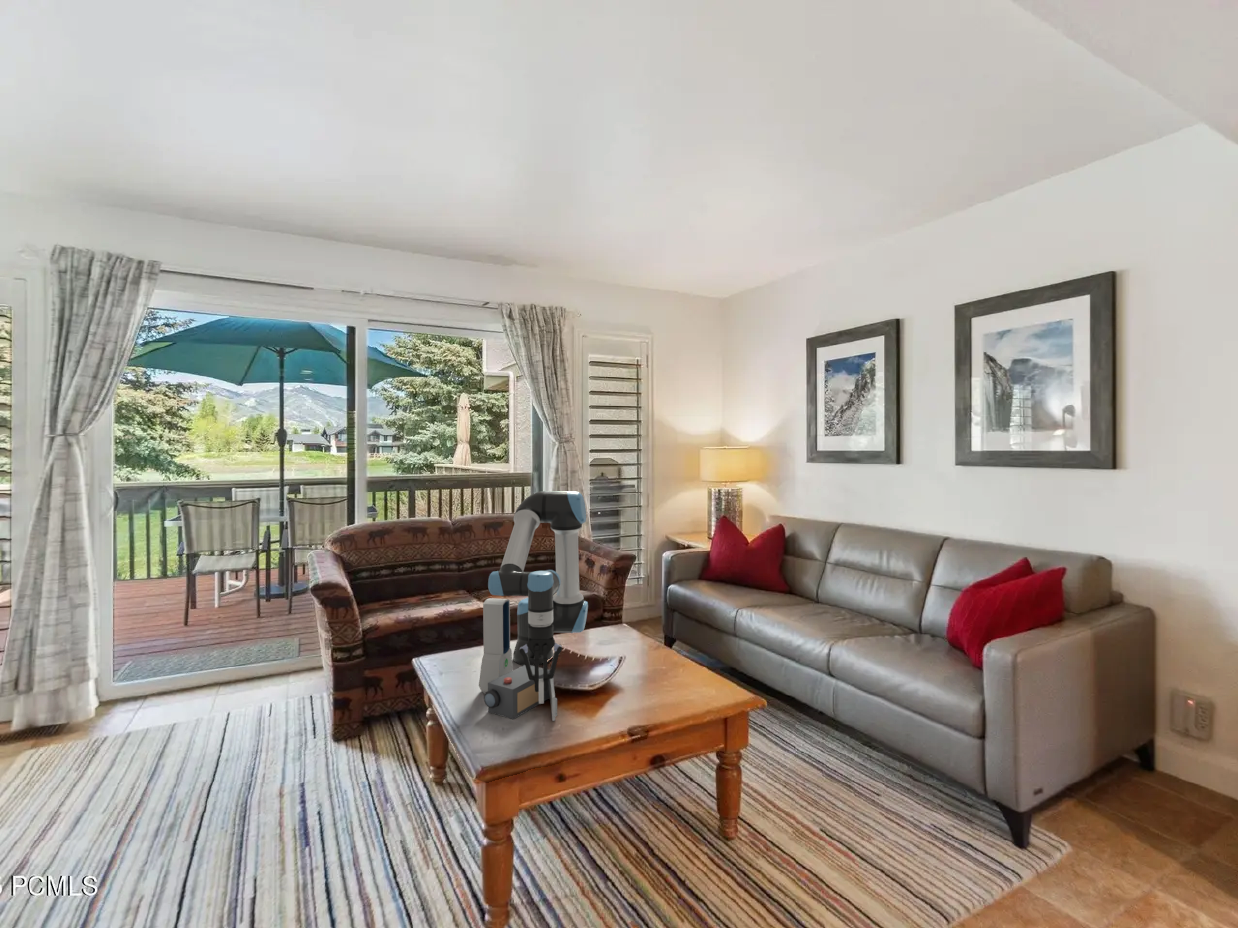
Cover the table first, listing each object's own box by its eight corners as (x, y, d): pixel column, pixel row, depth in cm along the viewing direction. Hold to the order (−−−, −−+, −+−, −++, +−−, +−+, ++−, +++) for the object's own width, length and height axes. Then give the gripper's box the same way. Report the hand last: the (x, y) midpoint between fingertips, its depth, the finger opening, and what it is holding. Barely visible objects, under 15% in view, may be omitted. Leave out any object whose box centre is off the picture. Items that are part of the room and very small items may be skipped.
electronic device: (499, 696, 198) (498, 604, 197) (478, 694, 199) (476, 603, 198) (513, 681, 210) (512, 595, 209) (493, 679, 211) (492, 594, 210)
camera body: (526, 690, 202) (525, 661, 201) (550, 697, 196) (550, 667, 196) (483, 713, 185) (483, 681, 184) (509, 721, 180) (508, 688, 179)
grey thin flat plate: (549, 697, 196) (549, 675, 196) (554, 697, 196) (554, 674, 196) (551, 721, 179) (551, 696, 179) (557, 721, 180) (557, 696, 179)
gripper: (518, 628, 178) (519, 708, 178) (563, 626, 179) (563, 705, 180) (518, 621, 185) (519, 697, 185) (561, 619, 187) (562, 695, 187)
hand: (541, 701), depth 183 cm, fingers closed
